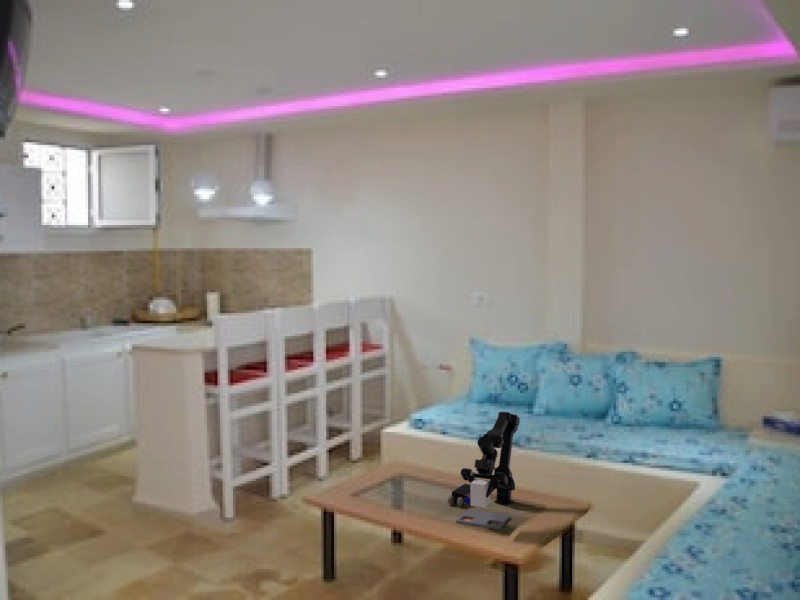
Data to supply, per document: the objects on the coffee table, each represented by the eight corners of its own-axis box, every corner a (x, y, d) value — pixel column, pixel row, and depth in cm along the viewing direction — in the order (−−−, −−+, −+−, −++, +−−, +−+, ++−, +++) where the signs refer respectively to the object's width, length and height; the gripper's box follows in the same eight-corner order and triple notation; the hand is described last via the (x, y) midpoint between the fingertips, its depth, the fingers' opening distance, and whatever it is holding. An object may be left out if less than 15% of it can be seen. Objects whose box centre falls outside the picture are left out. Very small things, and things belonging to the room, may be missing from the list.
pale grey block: (476, 506, 286) (475, 478, 286) (490, 508, 284) (489, 480, 283) (470, 511, 281) (470, 483, 280) (485, 513, 278) (484, 485, 278)
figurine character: (461, 514, 301) (478, 500, 313) (460, 497, 300) (477, 484, 312) (447, 511, 305) (464, 498, 317) (446, 495, 304) (463, 481, 316)
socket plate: (468, 515, 296) (468, 509, 296) (509, 521, 288) (509, 515, 288) (455, 526, 283) (455, 520, 283) (499, 533, 276) (499, 526, 276)
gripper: (461, 448, 289) (451, 482, 280) (505, 453, 280) (496, 489, 271) (469, 462, 296) (459, 496, 287) (512, 467, 288) (503, 502, 279)
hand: (479, 495), depth 281 cm, fingers closed on pale grey block, 6 cm apart
